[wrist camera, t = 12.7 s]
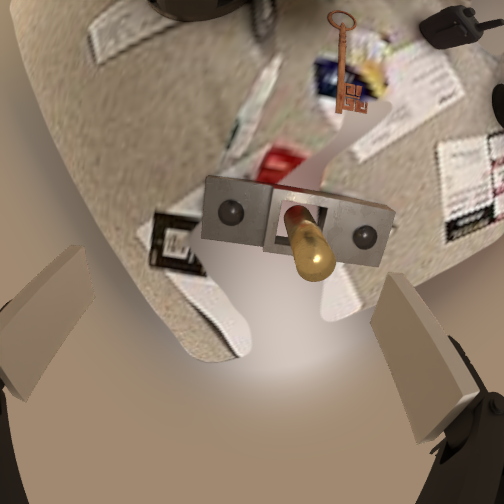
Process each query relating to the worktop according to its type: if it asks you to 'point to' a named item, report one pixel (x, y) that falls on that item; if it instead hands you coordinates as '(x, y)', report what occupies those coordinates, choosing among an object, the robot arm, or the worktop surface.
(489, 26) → the two-way radio
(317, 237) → the brass pin
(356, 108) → the key
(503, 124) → the aerosol can
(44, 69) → the worktop surface
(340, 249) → the slotted metal plate
